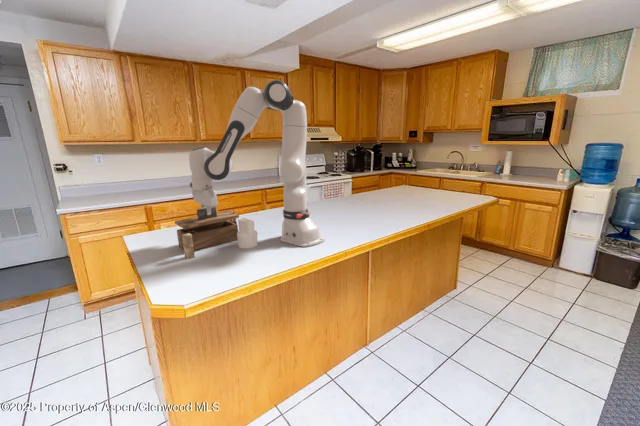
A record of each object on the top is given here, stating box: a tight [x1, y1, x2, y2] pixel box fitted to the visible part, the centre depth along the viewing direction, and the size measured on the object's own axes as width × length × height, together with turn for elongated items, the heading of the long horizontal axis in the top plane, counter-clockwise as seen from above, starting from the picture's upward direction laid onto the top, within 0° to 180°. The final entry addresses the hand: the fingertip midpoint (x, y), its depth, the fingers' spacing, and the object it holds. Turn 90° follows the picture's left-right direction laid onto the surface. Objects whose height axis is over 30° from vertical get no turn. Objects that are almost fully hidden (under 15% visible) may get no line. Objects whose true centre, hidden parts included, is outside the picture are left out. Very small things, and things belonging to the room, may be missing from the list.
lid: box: [174, 207, 240, 229], centre depth 136 cm, size 13×25×6 cm, turn 132°
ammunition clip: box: [216, 208, 238, 225], centre depth 155 cm, size 11×2×12 cm, turn 117°
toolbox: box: [176, 220, 239, 253], centre depth 138 cm, size 12×24×8 cm, turn 132°
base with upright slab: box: [236, 217, 259, 249], centre depth 135 cm, size 9×9×12 cm
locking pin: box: [182, 233, 196, 260], centre depth 122 cm, size 3×3×10 cm
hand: (207, 214), depth 136 cm, fingers closed on lid, 2 cm apart
